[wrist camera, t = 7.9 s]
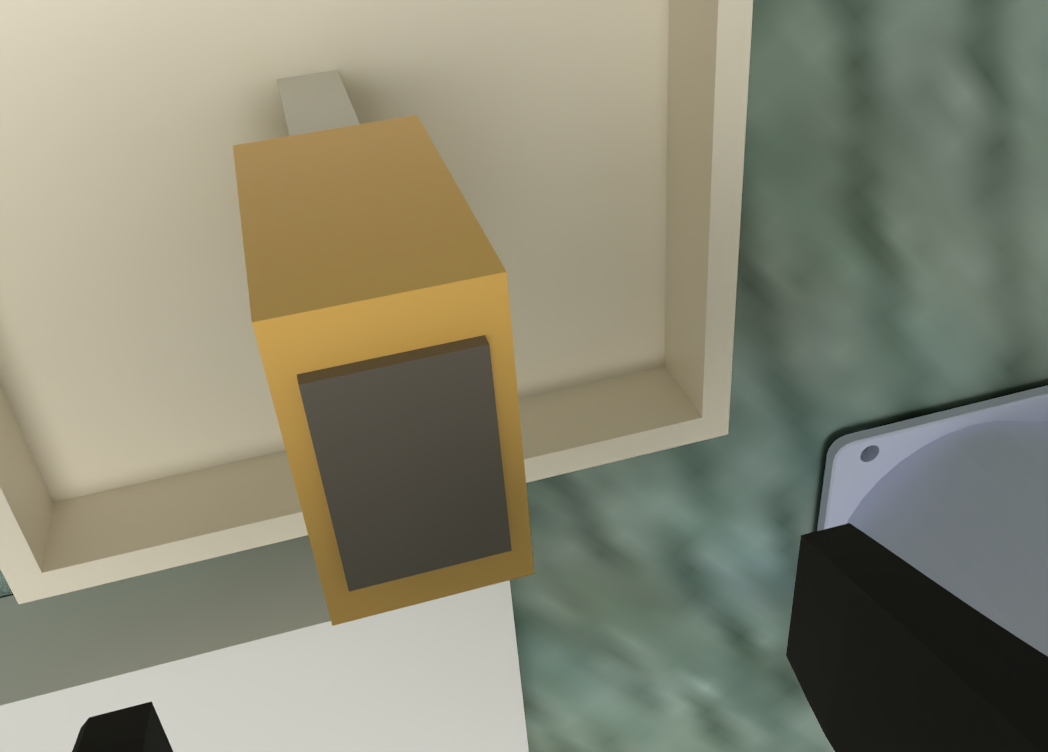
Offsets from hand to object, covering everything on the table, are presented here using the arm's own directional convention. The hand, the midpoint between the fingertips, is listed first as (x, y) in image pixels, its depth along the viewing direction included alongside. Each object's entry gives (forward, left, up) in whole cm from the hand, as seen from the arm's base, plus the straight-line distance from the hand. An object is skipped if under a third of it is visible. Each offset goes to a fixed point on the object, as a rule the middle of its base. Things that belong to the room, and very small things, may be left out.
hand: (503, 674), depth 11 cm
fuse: (+1, -2, -10) cm, 10 cm away
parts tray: (+1, -2, -10) cm, 10 cm away
